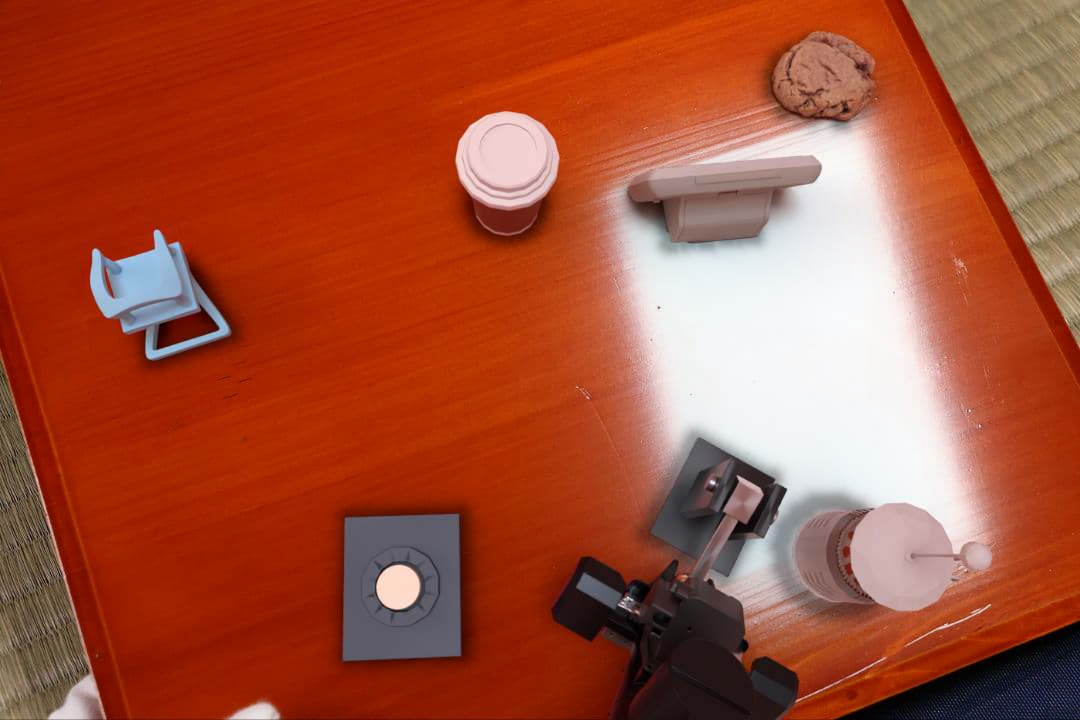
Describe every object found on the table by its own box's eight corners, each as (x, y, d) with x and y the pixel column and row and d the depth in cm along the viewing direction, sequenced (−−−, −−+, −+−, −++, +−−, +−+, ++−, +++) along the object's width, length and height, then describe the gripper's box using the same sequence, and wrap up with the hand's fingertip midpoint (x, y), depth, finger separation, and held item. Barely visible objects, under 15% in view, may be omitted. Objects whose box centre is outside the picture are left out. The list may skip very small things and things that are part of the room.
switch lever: (692, 611, 72) (694, 626, 69) (659, 592, 73) (659, 606, 69) (765, 489, 71) (770, 499, 68) (730, 470, 71) (734, 479, 68)
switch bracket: (724, 576, 78) (765, 581, 66) (647, 533, 79) (673, 529, 67) (771, 480, 81) (819, 467, 69) (696, 438, 81) (730, 418, 69)
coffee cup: (459, 163, 86) (453, 101, 74) (550, 161, 87) (558, 100, 75) (461, 249, 84) (455, 200, 72) (554, 247, 85) (563, 198, 73)
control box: (462, 653, 76) (460, 658, 72) (347, 658, 75) (339, 663, 71) (460, 514, 79) (458, 512, 75) (349, 518, 78) (341, 516, 74)
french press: (786, 493, 80) (912, 466, 56) (909, 514, 80) (1087, 496, 56) (776, 601, 78) (902, 622, 54) (902, 622, 78) (1085, 653, 54)
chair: (209, 256, 83) (161, 207, 71) (232, 335, 81) (188, 299, 69) (129, 281, 82) (67, 236, 70) (151, 362, 80) (91, 329, 69)
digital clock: (787, 172, 88) (826, 121, 77) (785, 256, 86) (824, 215, 75) (628, 156, 87) (645, 102, 77) (622, 240, 85) (639, 197, 75)
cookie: (752, 65, 90) (761, 49, 87) (837, 25, 92) (848, 8, 89) (802, 144, 88) (813, 130, 85) (888, 101, 90) (901, 86, 87)
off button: (421, 607, 73) (420, 608, 71) (378, 609, 73) (376, 610, 71) (421, 563, 74) (419, 564, 72) (379, 565, 74) (376, 565, 72)
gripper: (835, 736, 55) (844, 570, 68) (578, 589, 56) (634, 453, 69) (747, 812, 61) (771, 648, 74) (518, 679, 63) (580, 539, 75)
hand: (691, 572), depth 73 cm, fingers closed on switch lever, 3 cm apart
